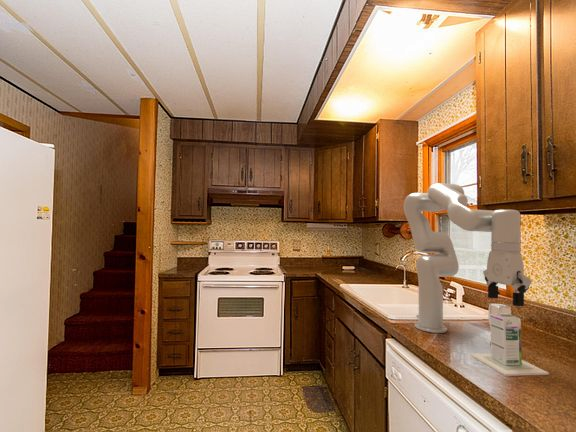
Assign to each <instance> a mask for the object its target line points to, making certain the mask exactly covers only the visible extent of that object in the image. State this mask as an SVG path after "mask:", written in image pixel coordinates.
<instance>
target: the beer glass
mask: <svg viewBox="0 0 576 432" xmlns="http://www.w3.org/2000/svg"><path fill="white" fill-rule="evenodd" d="M511 309H512V307H511V306H510V305H507V304H502V303H493V302H492V303H491V302H490V303H488V312H487V313H488V315H487V316H488V317H487V318H488V324H489V329H490V331H491V326H490V314H504V313H506V314H511V315H512V310H511ZM489 346H490V347H491V340H490V343H489Z"/></svg>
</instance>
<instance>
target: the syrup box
mask: <svg viewBox="0 0 576 432" xmlns="http://www.w3.org/2000/svg"><path fill="white" fill-rule="evenodd" d="M521 321H522V320H521V318H520V317H519V316H517V315H514V314H512V313H511V314H506V313H504V314H490V325H489V327H490V326H491V330H490V341H491V346H490V354H491V358H492V359H494V360H496V361H498V362H499V363H501V364H503V365H505V366H507V365H522V360H523V357H522V356H523V353H522V350H523V349H522V327H521V326H522V323H521Z"/></svg>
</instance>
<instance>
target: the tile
mask: <svg viewBox="0 0 576 432" xmlns="http://www.w3.org/2000/svg"><path fill="white" fill-rule="evenodd" d="M470 357H472V358H474V359H475V360H477V361H479V362H481V363H482V364H484V365H485V366H487V367H489V368H490V369H493V370H495V371H496V372H498V373H499V374H501V375H502V376H504V377H509V376H510V377H511V376H515V377H516V376H517V377H519V376H548V375H549V374H550V373H549V372H548V371H547V370H544V369H542V368H540V367H537V366H536V365H534V364H531V363H529V362H528V361H527V360H523V359H522V365H507V366H505V365H503V364H501V363H499V362H498V361H496V360H494V359H492V358H491V353H470Z"/></svg>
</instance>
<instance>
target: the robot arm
mask: <svg viewBox="0 0 576 432" xmlns="http://www.w3.org/2000/svg"><path fill="white" fill-rule="evenodd" d="M468 200H469V199H468V197H467V196H466V195H465V191H464V189H463V187H461V185H459V184H455V183H445V182H444V183H442V182H440V183H439V182H437V183H433V184H432V185H430V186H429V187H428V188H427V192H413V193H410V194H408V195H406V197H405V199H404V202H403V212H404V216H405V218H406V220H407V223H408V226H409V228H410V229H409V230H410V232H411V236H412V241H413V244H414V247H415V249H416V250H417V252H420V253H425V254H423V255H421V256H419V257H418V258H417V259H416V262H415V269H416V272H417V273H416V274H417V280H418V313H417V315H416V316H415V317H416V318H417V321H415V323H414V327H415V328H416V329H417V330H420V331H422V332H423V331H424V332H427V333H432V334H443V333H446V332H447V331H448V328H447V326H445V325H444V289H443V284H442V283H441V281H440V279H439V278H440V277H444V278H445V277H447V278H449V277H453V276H456V275H457V274H458V272H459V267H460V266H459V261H458V258H457V257H458V256H457V254H456V251H455V247H454V244H453V242H452V239H451V238H450V236H449V235H448V234H447V233H445V232H443V231H441V232H440V231H434V230H433V229H432V227H431V222H430V221H429V219H428V218H427V216H426V215H425V214H424V213H423V212H429V213H439V212H442V211H446V212H447V216H448V218H449V221H450V222H452V224H455V225H456V226H457V227H459V228H460V229H463V231H468V232H480V233H481V232H484V233H491V234H490V235H491V236H490V237H491V239H490V241H491V242H490V243H491V244H490V246H491V247H490V249H491V250H489V253H488V257H487V263H486V269H485V270H483V272H482V274H483V276H484V281H485V282H486V286H487V298H489V299H498V298H499V286H498V284H499V285H500V284H501V285H506V286H511V287H512V288H511V289H512V290H513V291H514V292H512V305H513V306H514V307H524V306H525V294H526V293H527V291H528V290H529V289H530V286H531V285H532V280H531V279H530V278H529V277H527V276H526V275H525V270H524V261H523V257H522V256H523V255H522V253H521V213H520V211H519V210H517V209H495V210H489V209H488V210H487V209H471V208H469V207H468ZM428 253H432V254H428Z"/></svg>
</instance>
